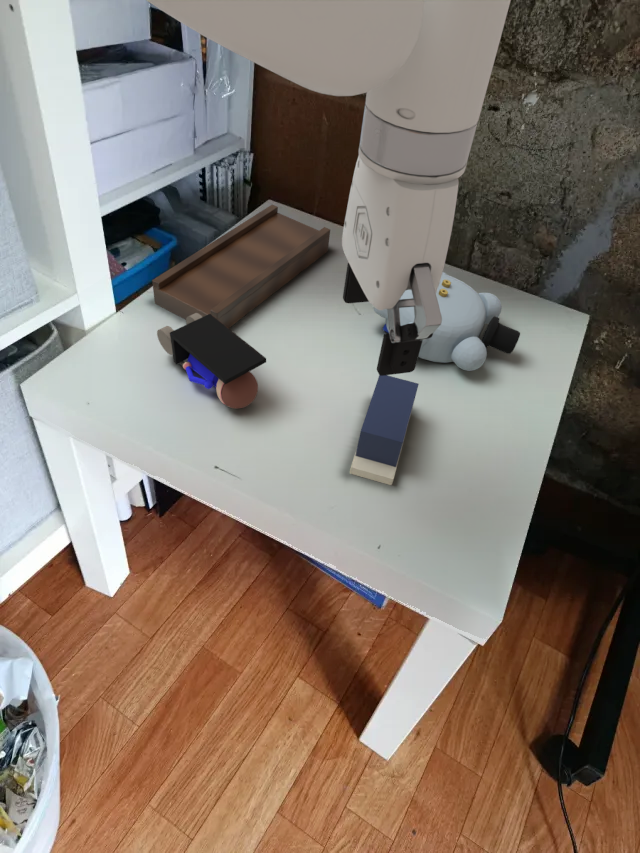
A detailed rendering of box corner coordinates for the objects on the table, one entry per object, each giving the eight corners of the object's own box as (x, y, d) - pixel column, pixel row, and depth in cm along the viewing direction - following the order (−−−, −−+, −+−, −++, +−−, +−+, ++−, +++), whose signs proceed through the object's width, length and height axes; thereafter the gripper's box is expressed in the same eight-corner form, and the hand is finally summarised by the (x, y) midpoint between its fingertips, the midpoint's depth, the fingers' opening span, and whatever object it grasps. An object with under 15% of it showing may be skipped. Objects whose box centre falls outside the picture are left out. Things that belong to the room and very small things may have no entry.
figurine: (352, 349, 87) (490, 407, 85) (368, 300, 81) (517, 361, 79) (389, 283, 99) (511, 333, 97) (405, 236, 92) (536, 288, 90)
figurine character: (158, 368, 84) (228, 425, 76) (148, 319, 78) (223, 375, 71) (200, 348, 87) (271, 401, 79) (193, 300, 82) (269, 351, 74)
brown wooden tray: (217, 337, 87) (217, 313, 84) (154, 303, 90) (151, 280, 87) (327, 251, 104) (330, 229, 101) (271, 226, 107) (272, 204, 104)
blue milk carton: (391, 485, 72) (400, 454, 68) (349, 473, 73) (355, 442, 69) (410, 414, 81) (419, 382, 76) (372, 403, 81) (379, 371, 77)
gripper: (328, 87, 48) (310, 279, 60) (409, 205, 37) (366, 410, 49) (421, 87, 50) (384, 274, 62) (524, 199, 39) (454, 398, 51)
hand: (376, 334), depth 56 cm, fingers open, 9 cm apart
